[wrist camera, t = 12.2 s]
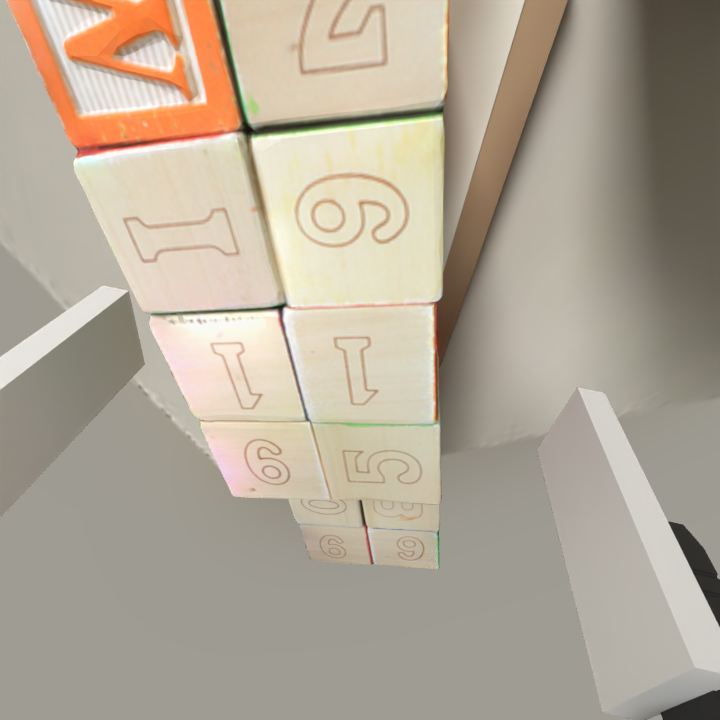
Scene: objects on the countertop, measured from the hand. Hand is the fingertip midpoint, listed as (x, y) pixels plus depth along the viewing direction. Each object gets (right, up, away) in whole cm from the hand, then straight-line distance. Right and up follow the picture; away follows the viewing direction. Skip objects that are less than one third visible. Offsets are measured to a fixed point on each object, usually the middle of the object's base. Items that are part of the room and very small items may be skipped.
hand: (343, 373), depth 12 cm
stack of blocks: (+1, +5, +8) cm, 10 cm away
